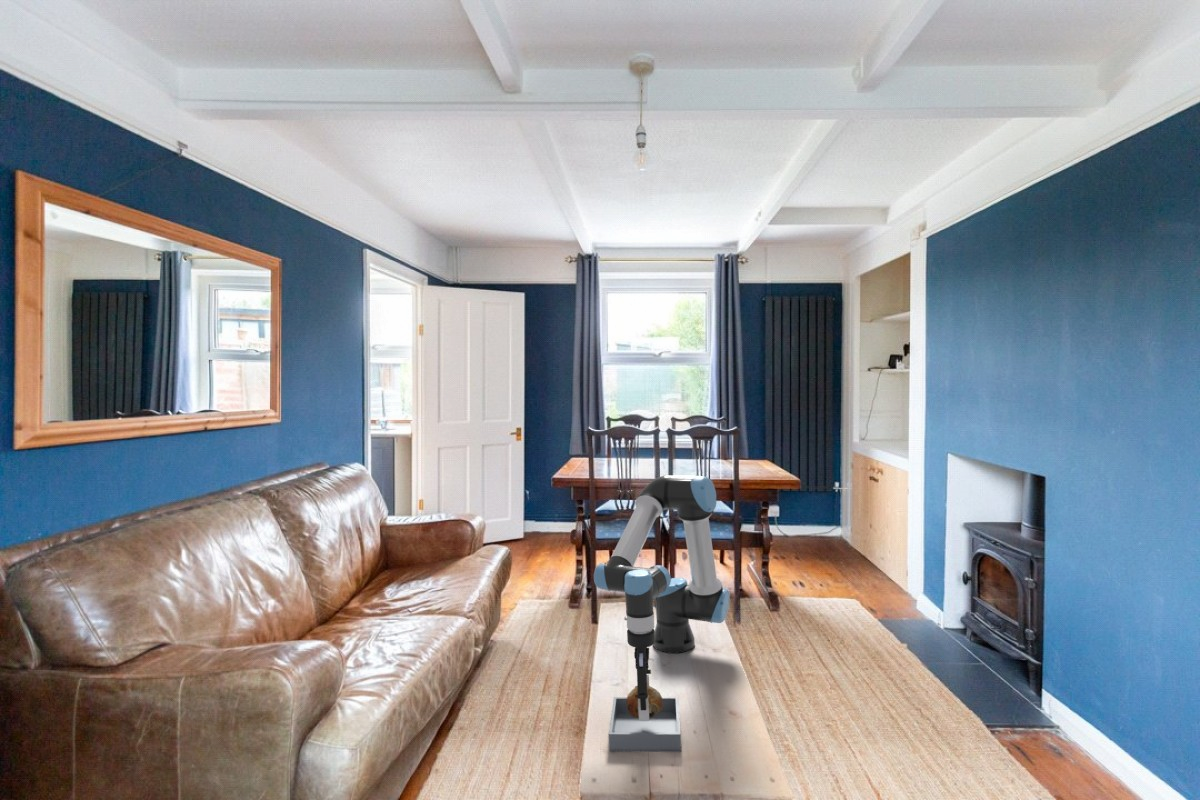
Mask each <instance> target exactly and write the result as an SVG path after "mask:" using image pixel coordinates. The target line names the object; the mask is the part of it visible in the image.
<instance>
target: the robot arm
mask: <svg viewBox="0 0 1200 800" xmlns="http://www.w3.org/2000/svg"><path fill="white" fill-rule="evenodd" d="M634 503H635V508H634V511H633V512H632V515H631V516H630V518H629V520H628V522H627V524H626V526H625V527H624V530H623V532H622V534H621V536H620V538H619V540H618V542H617V544H616V546H615V548H614V549H613V550H614V551H613V552H612V555H611V556H610V558H609V559H608V562H607V563H606V562H603V563H599V564H597V565H596V566H595V568H594V573H593V582H594V585H595V586H596V588H597V589H600V590H604V591H609V592H617V593H618V592H619V593H624V598H625V612H626V613H625V614H626V616H624V618H623V619H624V621H626V628H627V630H626V636H627V637H626V638H627V640H626V641H627V644H628V645H629V646H630V647H632V648H634V652H633V655H634V659H635V661H634V662H635V669H636V682H637V683H636V684H637V685H636V686H637V689H638V695H635V698H638V711H639V721H649V703H648V694H647V686H650V676H649V675H651V674H652V671H651V669H649V668H650V667H649V659H650V647H654V649H656V648H657V649H656V650H658V649H659V650H658V651H660V650H662V651H661V652H663V651H665V652H664V653H668V652H671V653H670V654H678V653H677V652H680V653H684V652H688V651H690V650H692V649H693V648H694V647H695V645H696V644H695V643H696V642H695V636H694V633H693V630H692V628H691V625H690V620H692V621H693V620H694V621H701V622H706V623H711V624H713V623H714V624H723V622H724V621H725V620H726V618H727V615H728V613H729V612H728V611H729V607H730V597H731V595H730V591H729V590H728V589H726V588H723V582H722V581H721V579H720V578H718V577H717V571H716V563H715V555H714V550H713V543H712V542H713V541H712V535H711V528H710V527H711V526H710V520H709V519H710V517H711V516H712V514H713V512H714V511H715V510H716V507H717V491H716V487H715V485H714V483H713V481H712V480H711V479H710V478H709V477H707V476H704V475H703V476H702V475H701V476H700V475H698V474H695V475H677V474H676V475H672V474H665V475H662V476H658V477H656V478H655V479H653V480H652V481H650V482H649V483H647V485H645V486H644V488H642V490H641V491H640V492H639V494H638V496H637V497H636V500H635V502H634ZM665 510H672V511H673V510H674V511H675V510H676V512H677V517H678V518H679V520H681V521H682V522H683V527H684V528H683V529H684V535H685V536H684V537H685V542H686V549H687V555H688V561H689V562H688V563H689V569H690V575H691V580H690V582H689V584H688V581H687V579H685V578H683V577H671V574H670V572H669V570H668V569H667V568H666V567H664V566H663V565H659V564H656V565H653V566H650V567H649V568H648V567H640V566H635V564H636V562H637V560H638V558H639V555H640V554H641V551H642V549H643V547H644V545H645V543H646V541H647V539H648V536H649V535H650V533H651V532H650V531H651V530H652V528H653V526H654V523H655V521H656V519H657V518H659V516H661V515H662V513H663V511H665ZM654 601H655V612H654ZM654 613H655V614H654ZM655 615H656V625H655ZM653 645H654V646H653Z"/></svg>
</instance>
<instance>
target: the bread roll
mask: <svg viewBox="0 0 1200 800" xmlns="http://www.w3.org/2000/svg"><path fill="white" fill-rule="evenodd" d="M647 694H648V703H649V718H652V717H654V716H656V715H657V714H658V713H660V712H661V710H662V708H663V702H662V697H663V696H662V695H661V694H660V692H659V691H658V690H657V689H655V688H654V687H652V686H650V685H649V686H647ZM635 695H638V689H637V685H636V686H634V688H633V689H632V690H631V691H630V692H629V693H628V694H627V696H626V697H627V708H628V712H629V713H630V715H632V716H633V717H635V718H639V711H638V698H635Z"/></svg>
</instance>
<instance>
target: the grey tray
mask: <svg viewBox="0 0 1200 800" xmlns="http://www.w3.org/2000/svg"><path fill="white" fill-rule="evenodd" d="M661 697H662V702H663V708H662V710H661V712H660V713H658V714H657V715H656V716H654V717H652V718H649V721H639V718H635V717H633V716H632V715H630V713H629V712H628V708H627V696H614V697H613V701H612V707H611V708H612V709H611V714H610V721H609V729H608V750H609V752H656V753H657V752H661V753H664V752H665V753H666V752H667V753H668V752H670V753H671V752H673V753H675V752H676V753H680V752H681V753H682V738H681V724H680V719H681V718H680V706H679V705H680V703H679V696H661Z"/></svg>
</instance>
